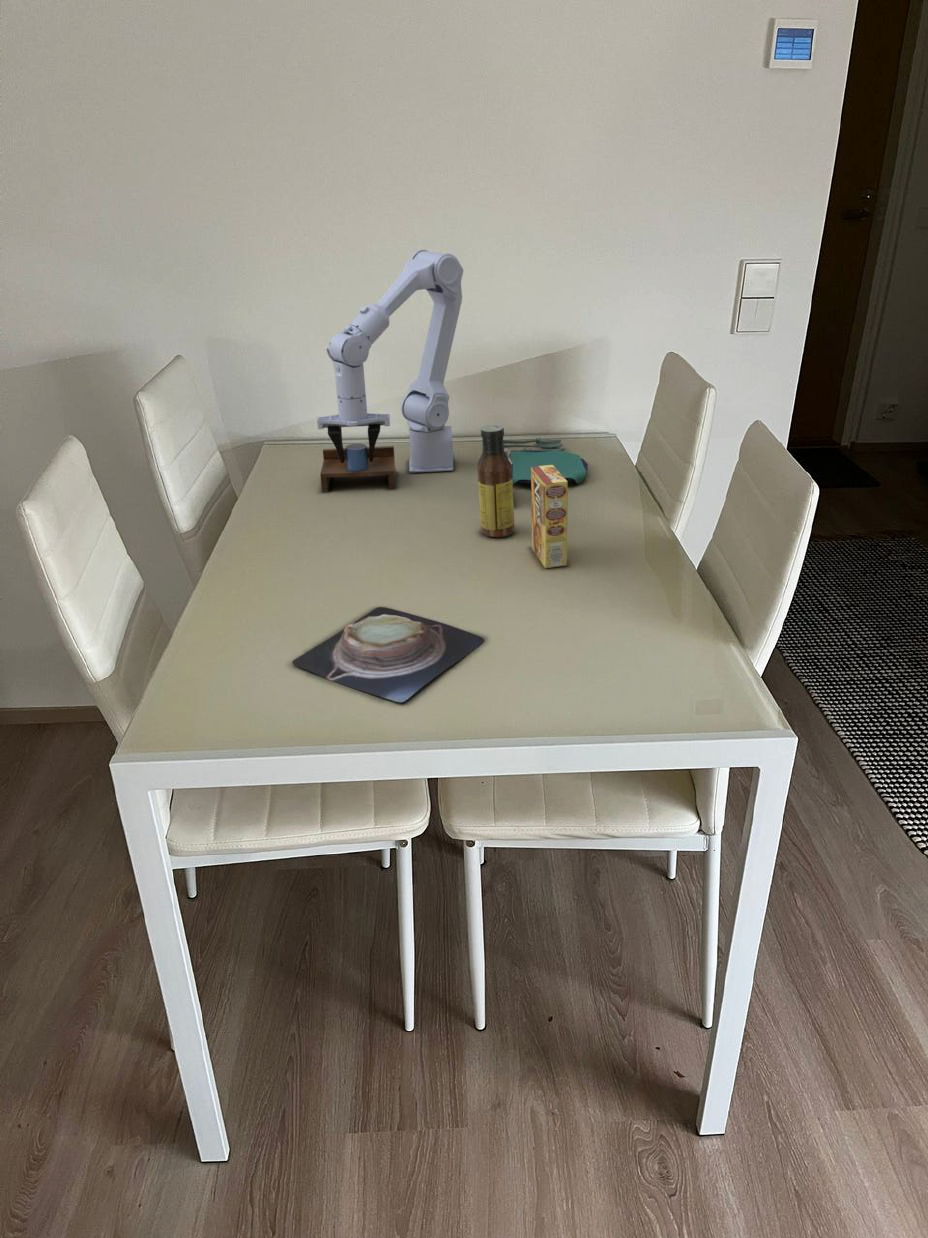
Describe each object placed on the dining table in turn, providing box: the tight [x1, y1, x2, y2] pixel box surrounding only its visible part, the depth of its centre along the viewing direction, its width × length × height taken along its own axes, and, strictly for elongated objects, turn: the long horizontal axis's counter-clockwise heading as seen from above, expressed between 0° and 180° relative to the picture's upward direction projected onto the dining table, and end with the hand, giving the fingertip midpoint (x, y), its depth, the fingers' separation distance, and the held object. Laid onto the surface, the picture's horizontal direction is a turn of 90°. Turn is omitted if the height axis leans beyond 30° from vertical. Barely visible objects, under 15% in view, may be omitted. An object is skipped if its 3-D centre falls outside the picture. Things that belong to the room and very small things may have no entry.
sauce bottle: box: [476, 424, 515, 538], centre depth 172 cm, size 7×6×20 cm
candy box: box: [530, 465, 569, 569], centre depth 163 cm, size 9×4×15 cm, turn 12°
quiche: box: [291, 606, 485, 703], centre depth 139 cm, size 21×20×4 cm
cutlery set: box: [503, 437, 589, 485], centre depth 208 cm, size 20×30×2 cm, turn 1°
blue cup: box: [344, 443, 368, 471], centre depth 198 cm, size 4×4×4 cm
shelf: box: [319, 445, 397, 493], centre depth 201 cm, size 15×10×6 cm, turn 93°
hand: (357, 460), depth 198 cm, fingers open, 5 cm apart
